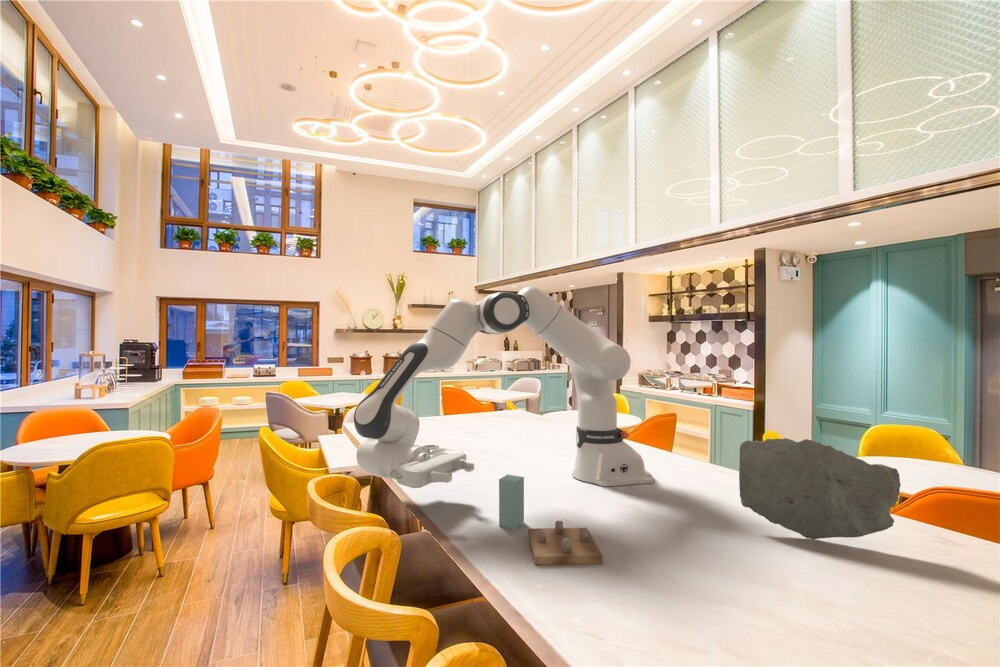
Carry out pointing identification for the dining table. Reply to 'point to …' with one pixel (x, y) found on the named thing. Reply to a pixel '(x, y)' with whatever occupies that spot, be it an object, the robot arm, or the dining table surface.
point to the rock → (816, 488)
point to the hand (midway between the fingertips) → (462, 472)
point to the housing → (563, 546)
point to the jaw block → (511, 501)
